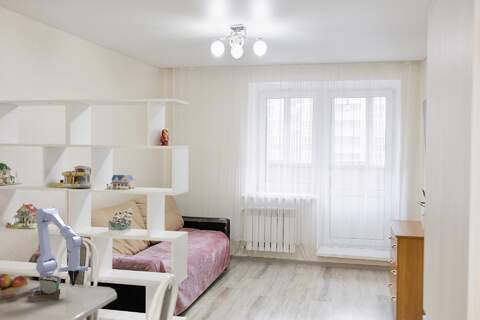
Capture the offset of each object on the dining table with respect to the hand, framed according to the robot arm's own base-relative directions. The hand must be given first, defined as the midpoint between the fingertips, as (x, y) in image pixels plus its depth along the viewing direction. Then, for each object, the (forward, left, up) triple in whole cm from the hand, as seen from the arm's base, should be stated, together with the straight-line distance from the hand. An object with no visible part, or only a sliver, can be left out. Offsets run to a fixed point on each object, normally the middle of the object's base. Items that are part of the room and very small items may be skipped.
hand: (73, 285), depth 245 cm
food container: (-1, -10, -6) cm, 12 cm away
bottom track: (0, -13, -6) cm, 14 cm away
